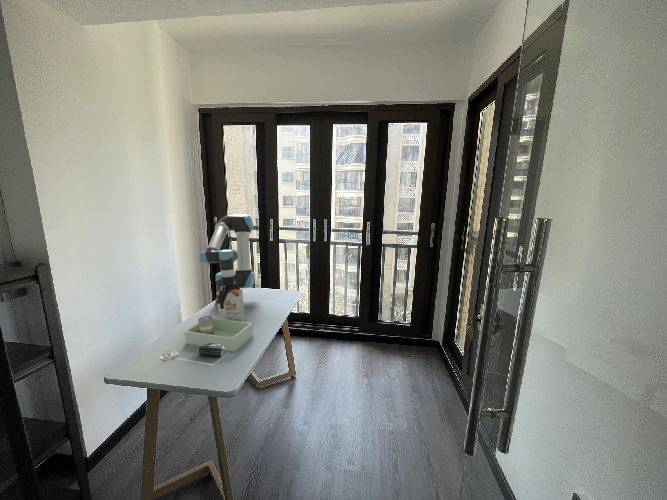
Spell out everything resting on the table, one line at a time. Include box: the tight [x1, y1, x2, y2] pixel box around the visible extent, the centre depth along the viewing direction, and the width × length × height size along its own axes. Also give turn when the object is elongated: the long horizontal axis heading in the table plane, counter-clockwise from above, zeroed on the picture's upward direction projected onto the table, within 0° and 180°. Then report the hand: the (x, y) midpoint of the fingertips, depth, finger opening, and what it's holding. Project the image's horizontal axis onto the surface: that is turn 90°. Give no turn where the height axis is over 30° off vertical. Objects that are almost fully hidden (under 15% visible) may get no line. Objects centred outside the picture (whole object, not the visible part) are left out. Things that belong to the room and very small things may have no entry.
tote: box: [183, 317, 254, 353], centre depth 150 cm, size 18×30×8 cm, turn 74°
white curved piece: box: [159, 346, 180, 361], centre depth 136 cm, size 9×8×4 cm
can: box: [197, 315, 214, 335], centre depth 152 cm, size 7×7×11 cm
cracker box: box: [215, 288, 246, 322], centre depth 169 cm, size 14×6×21 cm, turn 89°
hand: (230, 308), depth 169 cm, fingers open, 13 cm apart
